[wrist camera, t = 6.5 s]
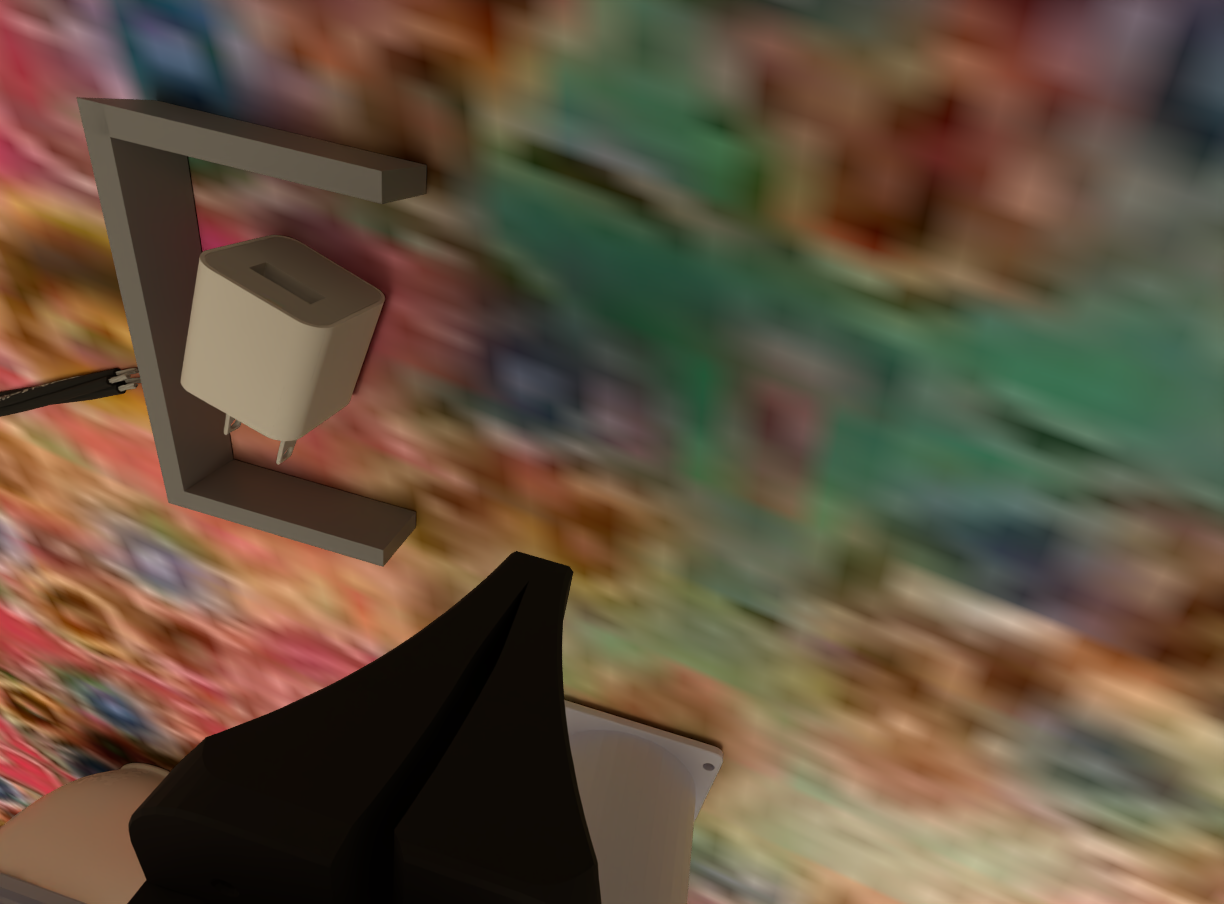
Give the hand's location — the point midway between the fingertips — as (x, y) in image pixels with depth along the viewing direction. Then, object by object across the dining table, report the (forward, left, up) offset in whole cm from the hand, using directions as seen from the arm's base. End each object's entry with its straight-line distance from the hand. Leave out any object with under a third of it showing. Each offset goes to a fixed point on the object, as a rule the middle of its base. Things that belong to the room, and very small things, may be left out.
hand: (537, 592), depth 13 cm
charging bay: (0, +11, -8) cm, 14 cm away
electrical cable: (-6, +24, -9) cm, 26 cm away
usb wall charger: (0, +11, -9) cm, 14 cm away
